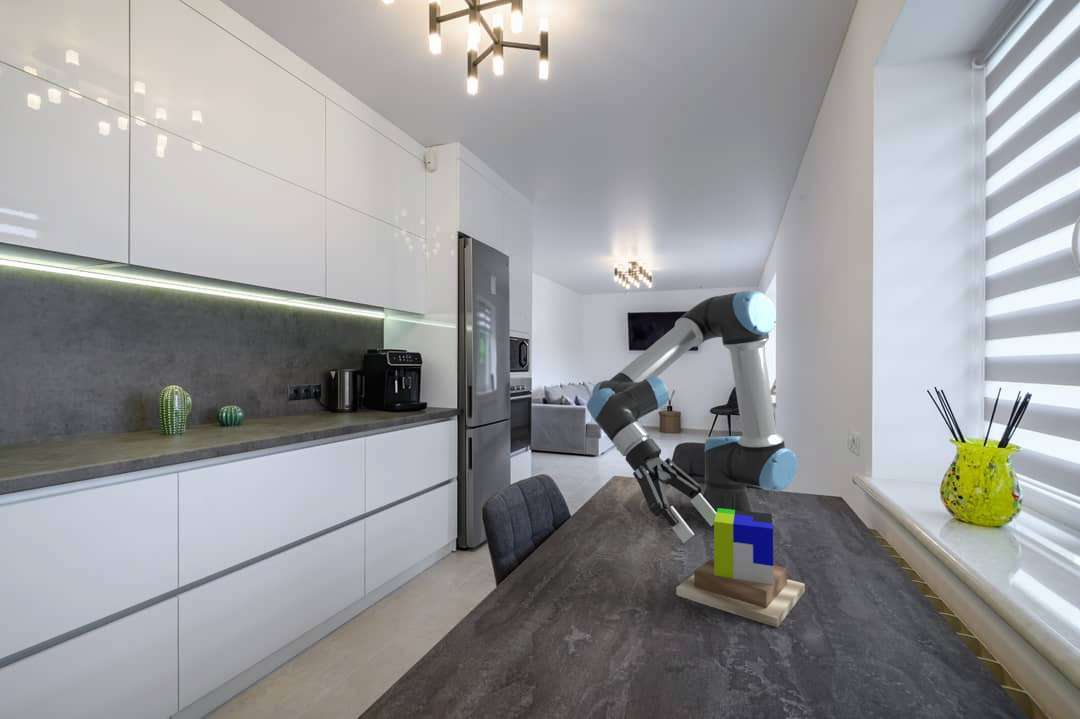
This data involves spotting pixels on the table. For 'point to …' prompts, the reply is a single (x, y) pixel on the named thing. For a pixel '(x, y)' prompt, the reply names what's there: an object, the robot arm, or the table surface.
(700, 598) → the build plinth
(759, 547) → the puzzle toy
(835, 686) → the table surface
